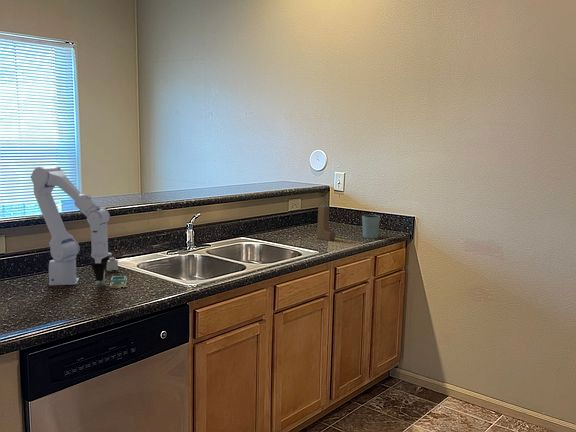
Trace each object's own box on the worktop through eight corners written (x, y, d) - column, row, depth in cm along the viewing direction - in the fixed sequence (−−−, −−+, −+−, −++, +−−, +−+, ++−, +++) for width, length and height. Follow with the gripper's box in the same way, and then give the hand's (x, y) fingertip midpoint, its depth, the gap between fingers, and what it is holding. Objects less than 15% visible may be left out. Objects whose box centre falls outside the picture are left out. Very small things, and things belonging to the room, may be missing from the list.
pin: (96, 287, 205) (95, 269, 204) (97, 285, 208) (96, 266, 207) (104, 287, 206) (104, 268, 205) (105, 284, 209) (104, 266, 207)
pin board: (109, 288, 204) (109, 281, 204) (112, 281, 213) (111, 274, 213) (125, 287, 206) (125, 281, 205) (127, 280, 215) (126, 274, 214)
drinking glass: (373, 239, 306) (374, 217, 304) (357, 236, 312) (358, 215, 310) (382, 236, 314) (383, 215, 312) (366, 234, 320) (367, 213, 318)
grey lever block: (116, 269, 231) (115, 250, 229) (118, 270, 229) (117, 251, 228) (99, 272, 226) (99, 252, 225) (101, 272, 225) (101, 253, 223)
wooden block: (334, 239, 302) (336, 207, 299) (329, 241, 298) (331, 207, 296) (322, 237, 308) (323, 205, 305) (316, 238, 305) (318, 205, 302)
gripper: (109, 245, 198) (110, 282, 200) (112, 237, 212) (113, 272, 214) (88, 246, 196) (89, 283, 199) (93, 238, 210) (94, 272, 213)
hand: (100, 277), depth 206 cm, fingers open, 7 cm apart
